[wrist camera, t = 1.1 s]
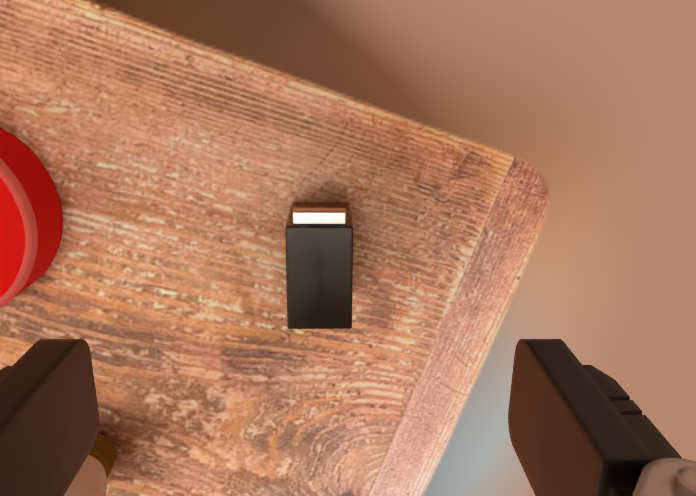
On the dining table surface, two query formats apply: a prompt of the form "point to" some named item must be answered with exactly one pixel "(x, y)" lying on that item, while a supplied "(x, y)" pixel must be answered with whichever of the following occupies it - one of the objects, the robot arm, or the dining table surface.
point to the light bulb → (94, 470)
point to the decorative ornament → (25, 218)
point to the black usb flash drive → (319, 266)
